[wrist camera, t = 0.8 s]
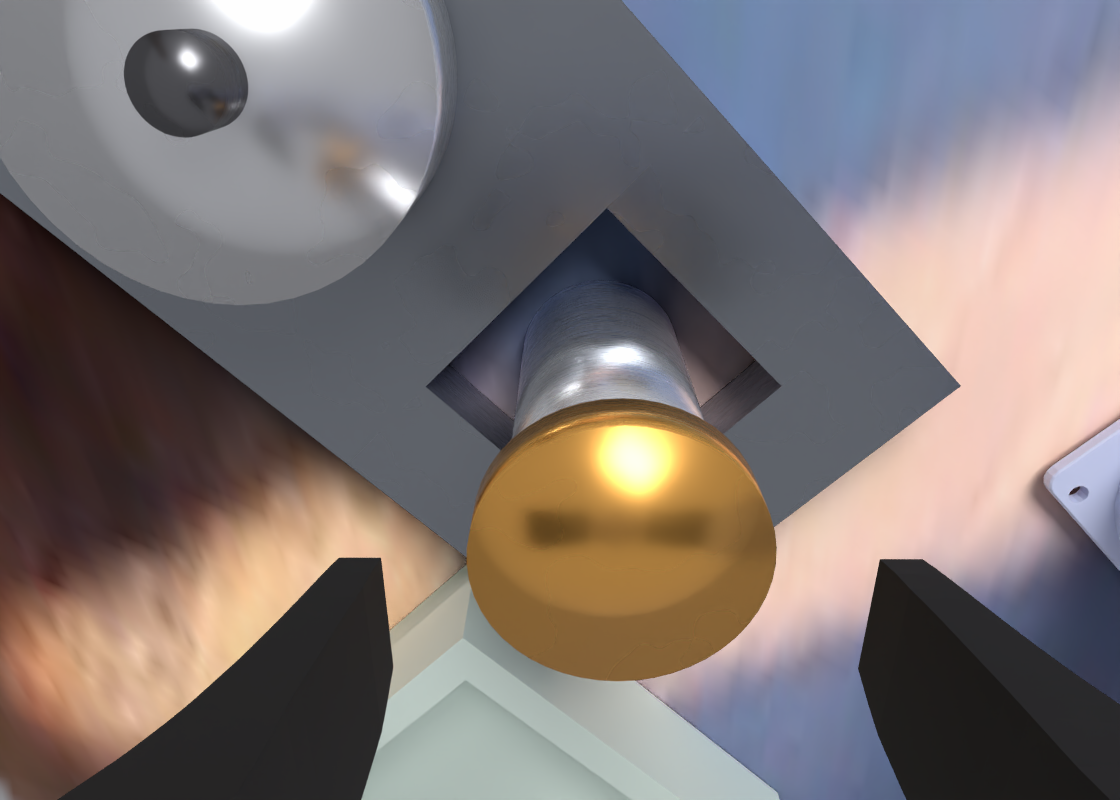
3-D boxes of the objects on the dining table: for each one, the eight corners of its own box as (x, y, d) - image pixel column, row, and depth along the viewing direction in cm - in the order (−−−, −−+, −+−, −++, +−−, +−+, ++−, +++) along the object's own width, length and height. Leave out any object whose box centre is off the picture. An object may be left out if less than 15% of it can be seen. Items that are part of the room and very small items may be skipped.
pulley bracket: (927, 354, 21) (1049, 471, 16) (595, 613, 25) (603, 779, 20) (222, -446, 15) (24, -706, 9) (-87, 64, 19) (-356, 87, 13)
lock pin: (736, 354, 21) (839, 564, 13) (598, 472, 23) (616, 724, 15) (602, 218, 20) (627, 362, 12) (464, 354, 22) (402, 564, 13)
